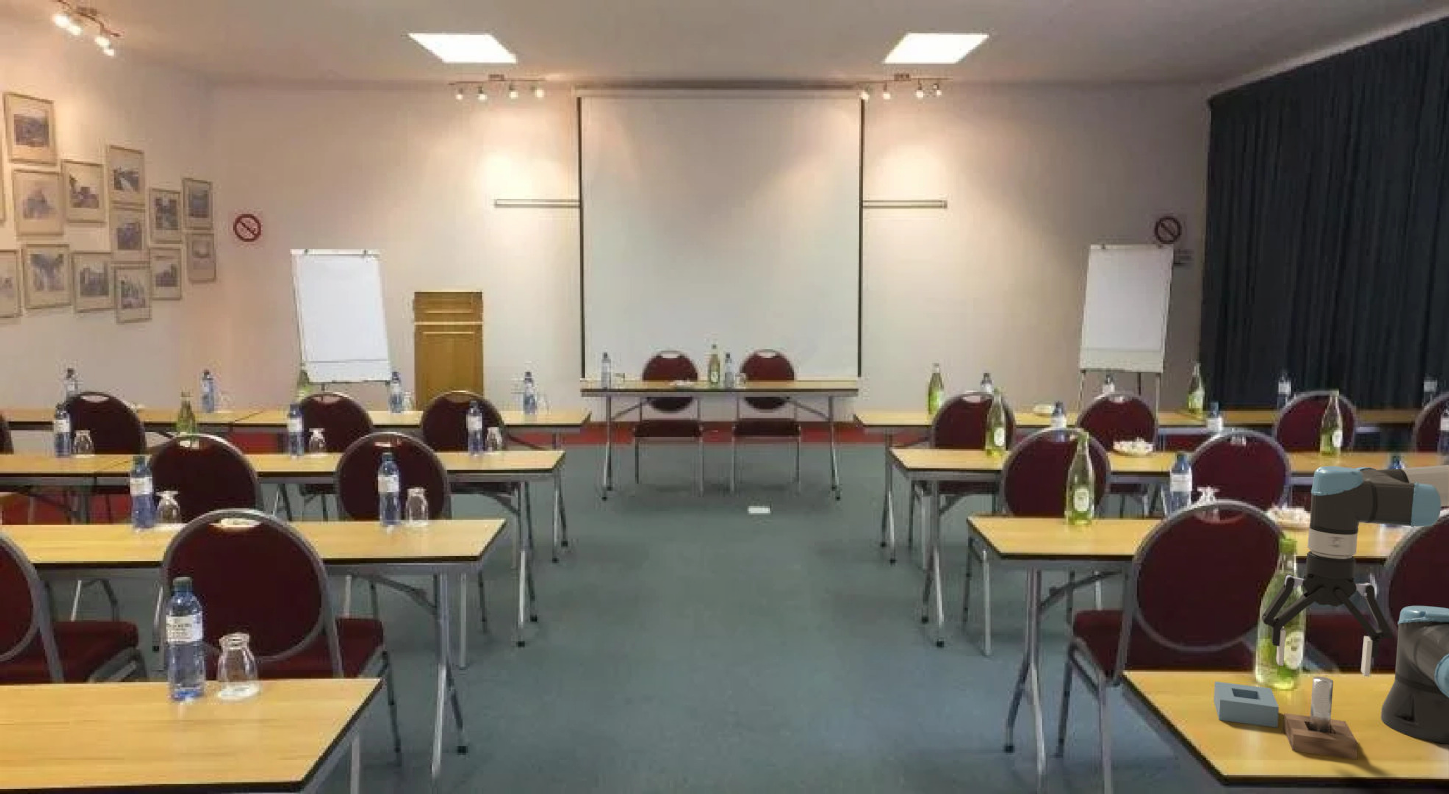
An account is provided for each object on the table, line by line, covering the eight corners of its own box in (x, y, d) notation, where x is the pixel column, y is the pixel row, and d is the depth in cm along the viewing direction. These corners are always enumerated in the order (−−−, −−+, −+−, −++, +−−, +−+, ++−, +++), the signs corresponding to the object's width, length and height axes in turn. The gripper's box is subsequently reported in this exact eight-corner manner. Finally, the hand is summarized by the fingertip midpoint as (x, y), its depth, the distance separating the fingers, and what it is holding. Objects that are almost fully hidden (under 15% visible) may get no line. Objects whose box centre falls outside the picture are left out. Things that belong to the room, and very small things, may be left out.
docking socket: (1269, 708, 204) (1270, 688, 204) (1277, 727, 195) (1278, 707, 194) (1213, 700, 208) (1214, 681, 207) (1219, 719, 198) (1220, 699, 198)
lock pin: (1326, 741, 189) (1331, 678, 188) (1330, 748, 186) (1334, 684, 185) (1307, 738, 190) (1311, 675, 189) (1310, 745, 187) (1314, 681, 186)
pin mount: (1344, 736, 191) (1345, 721, 191) (1356, 759, 182) (1357, 743, 181) (1283, 728, 194) (1284, 713, 194) (1292, 750, 185) (1293, 734, 185)
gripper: (1256, 551, 185) (1247, 665, 187) (1418, 566, 177) (1407, 686, 179) (1250, 541, 192) (1242, 652, 194) (1406, 556, 184) (1396, 671, 186)
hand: (1321, 668), depth 187 cm, fingers open, 13 cm apart
